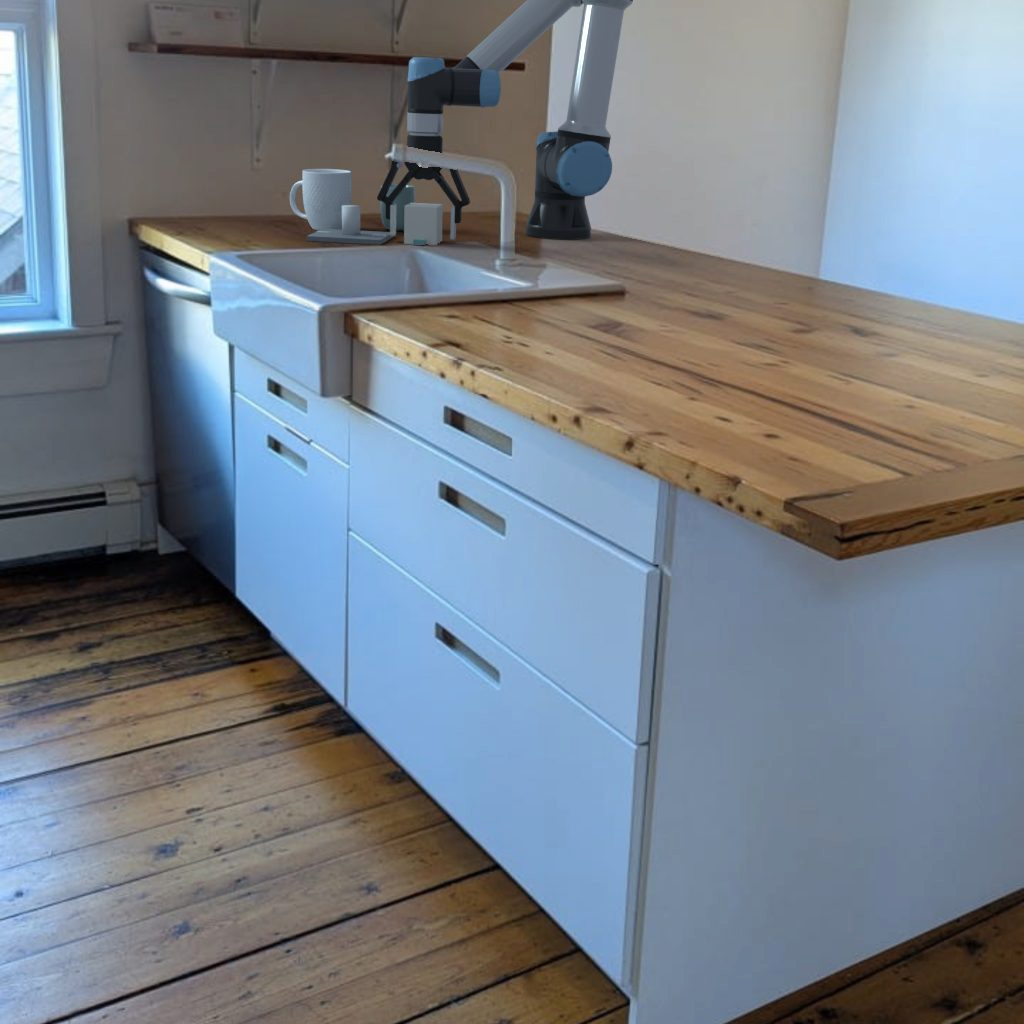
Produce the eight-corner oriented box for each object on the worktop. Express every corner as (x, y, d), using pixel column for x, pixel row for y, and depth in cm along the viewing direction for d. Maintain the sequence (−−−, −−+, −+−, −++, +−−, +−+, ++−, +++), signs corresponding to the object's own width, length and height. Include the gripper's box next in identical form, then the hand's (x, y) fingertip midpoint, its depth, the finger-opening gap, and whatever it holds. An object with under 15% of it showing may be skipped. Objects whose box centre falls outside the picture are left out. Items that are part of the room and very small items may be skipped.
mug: (279, 228, 299) (278, 169, 295) (302, 224, 309) (301, 166, 305) (338, 233, 295) (337, 173, 290) (359, 229, 304) (359, 170, 300)
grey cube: (443, 240, 290) (443, 203, 287) (434, 246, 280) (435, 208, 278) (411, 239, 291) (412, 202, 288) (402, 244, 281) (403, 206, 279)
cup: (375, 230, 303) (375, 185, 300) (388, 227, 310) (388, 183, 307) (406, 232, 301) (407, 188, 298) (418, 229, 308) (419, 185, 305)
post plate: (393, 236, 293) (394, 204, 291) (379, 244, 280) (380, 211, 278) (323, 233, 295) (323, 201, 292) (306, 240, 282) (306, 207, 279)
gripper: (485, 136, 280) (481, 237, 287) (371, 130, 283) (371, 231, 290) (479, 137, 273) (476, 242, 280) (363, 132, 276) (363, 235, 283)
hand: (422, 237), depth 285 cm, fingers open, 12 cm apart
